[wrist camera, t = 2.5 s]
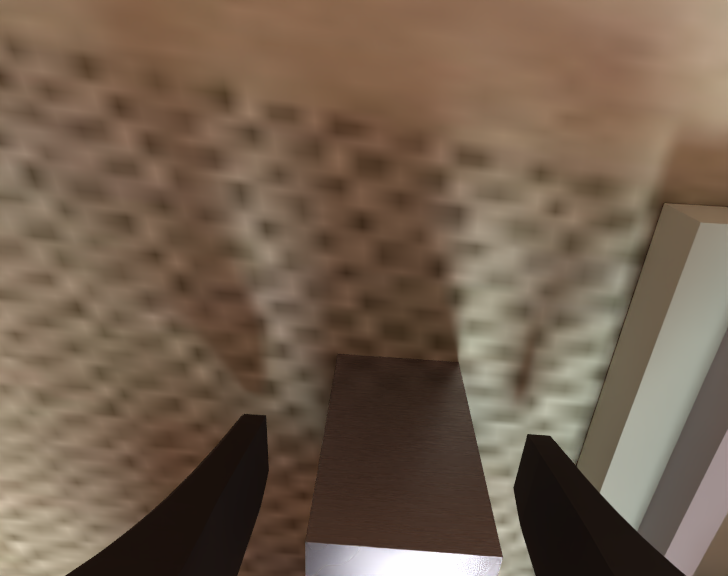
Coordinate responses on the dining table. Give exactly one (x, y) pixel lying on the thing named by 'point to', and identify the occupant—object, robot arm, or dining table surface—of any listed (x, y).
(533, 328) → the dining table surface
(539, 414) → the dining table surface
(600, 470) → the rail
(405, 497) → the brushed grey cube
